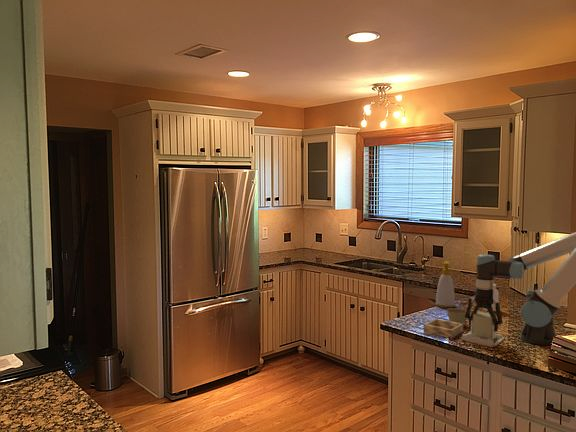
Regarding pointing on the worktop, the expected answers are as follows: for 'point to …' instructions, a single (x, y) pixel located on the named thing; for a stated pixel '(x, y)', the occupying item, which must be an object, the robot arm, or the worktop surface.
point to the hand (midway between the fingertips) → (482, 335)
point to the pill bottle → (494, 297)
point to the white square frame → (482, 339)
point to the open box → (443, 328)
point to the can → (482, 325)
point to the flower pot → (456, 315)
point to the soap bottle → (445, 289)
